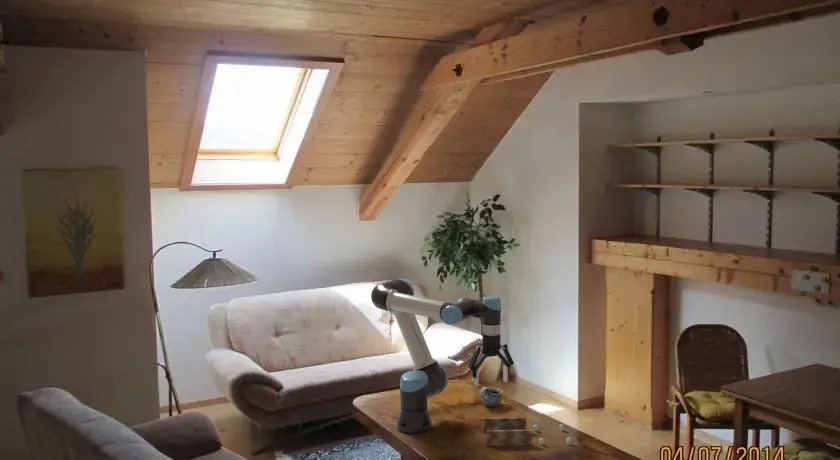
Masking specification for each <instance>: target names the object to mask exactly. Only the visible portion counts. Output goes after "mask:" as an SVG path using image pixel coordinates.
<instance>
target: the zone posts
mask: <svg viewBox="0 0 840 460" xmlns="http://www.w3.org/2000/svg"><path fill="white" fill-rule="evenodd" d="M563 431H564V424H562V423H561V424H559V432H563ZM533 432H536V433H537V432H538V425H537V424H533ZM538 441H539V445H540V446H544V438H543V437H540V438H539V440H538ZM539 445H538V446H539ZM566 445H568V446H571V445H572V438H571V437H567V438H566Z"/></svg>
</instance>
